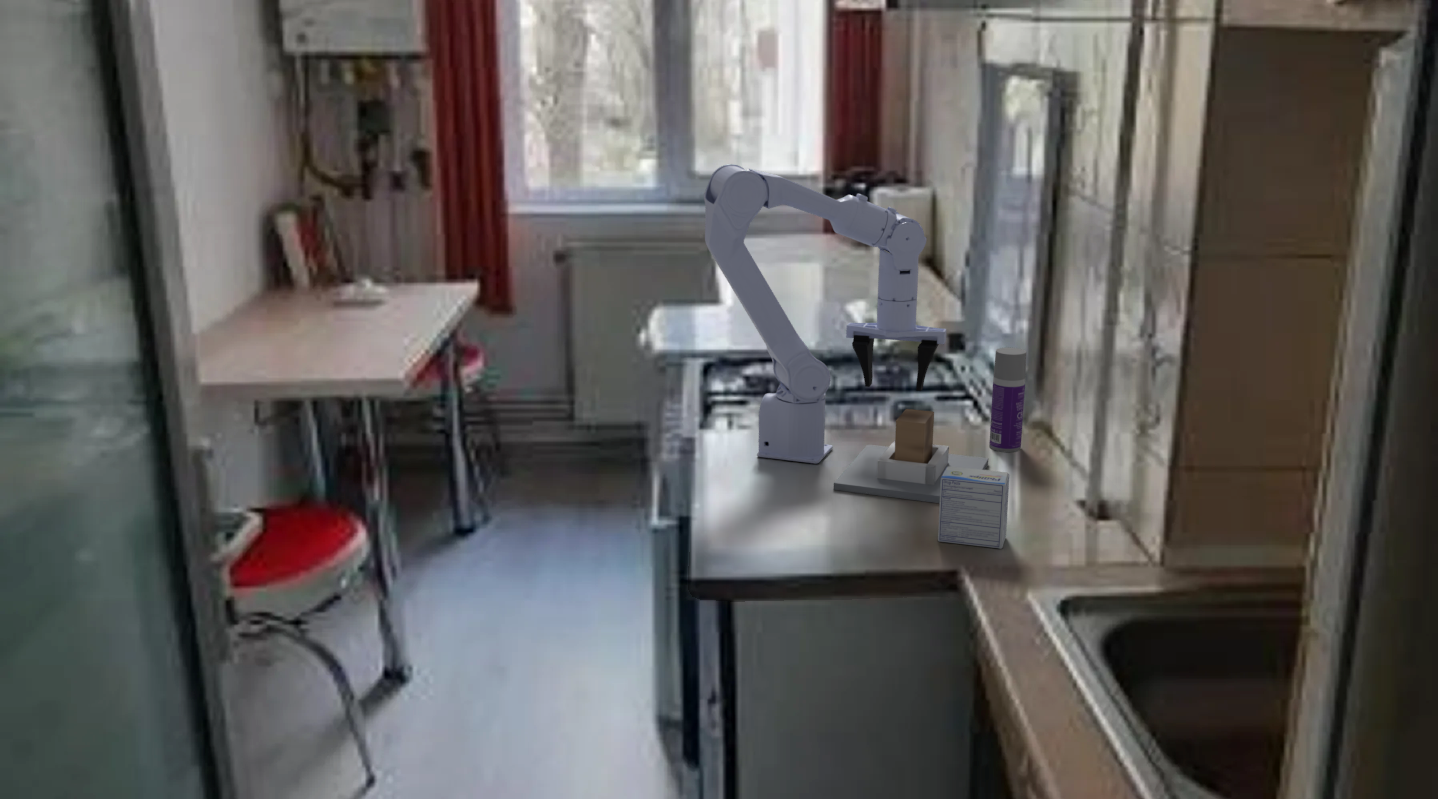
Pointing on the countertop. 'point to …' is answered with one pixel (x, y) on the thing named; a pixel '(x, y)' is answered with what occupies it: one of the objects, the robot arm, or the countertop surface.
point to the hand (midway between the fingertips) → (893, 387)
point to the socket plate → (902, 473)
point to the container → (1008, 399)
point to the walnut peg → (914, 436)
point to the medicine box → (973, 507)
